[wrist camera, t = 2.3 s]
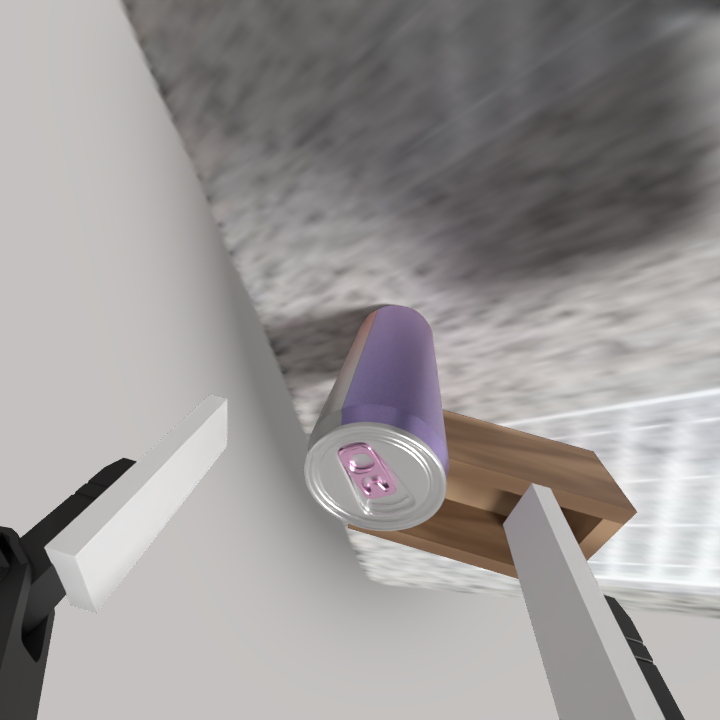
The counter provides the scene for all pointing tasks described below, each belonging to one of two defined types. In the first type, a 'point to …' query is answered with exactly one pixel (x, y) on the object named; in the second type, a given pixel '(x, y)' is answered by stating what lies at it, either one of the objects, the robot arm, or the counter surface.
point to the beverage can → (382, 428)
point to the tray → (512, 494)
